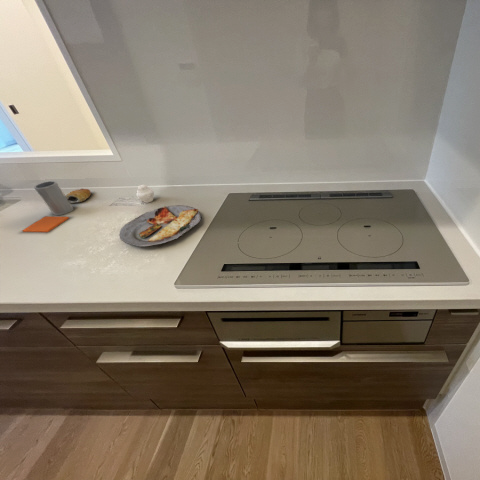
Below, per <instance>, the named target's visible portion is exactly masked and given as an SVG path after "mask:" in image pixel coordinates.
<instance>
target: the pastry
mask: <svg viewBox="0 0 480 480" xmlns="http://www.w3.org/2000/svg"><path fill="white" fill-rule="evenodd" d="M91 195H92V192H91V190H90V189H88V188H80V189H76V190H72V191H70V192H68V193H66V195H65V196H66V197H67V199H68V200H69V202H70V203H71V204H76V203H82V202H84V201H86V200H87V199H89V197H90V196H91Z"/></svg>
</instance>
